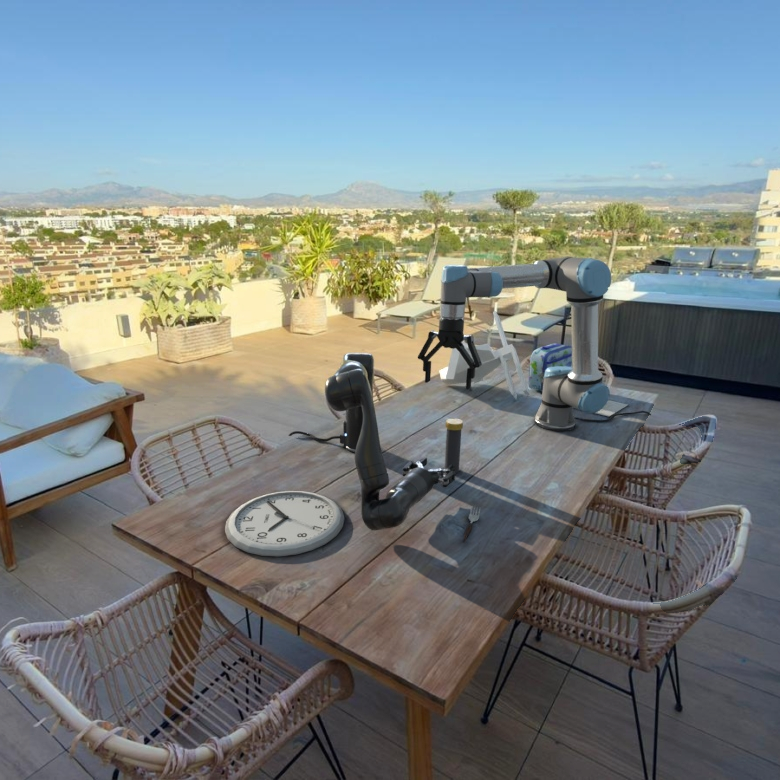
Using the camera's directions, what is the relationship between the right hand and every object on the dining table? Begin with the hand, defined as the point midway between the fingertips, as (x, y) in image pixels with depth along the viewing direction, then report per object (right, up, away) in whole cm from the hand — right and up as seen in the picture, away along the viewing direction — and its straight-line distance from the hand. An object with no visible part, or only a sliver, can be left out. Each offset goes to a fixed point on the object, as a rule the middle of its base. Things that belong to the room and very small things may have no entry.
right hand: (447, 384), depth 164 cm
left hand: (-4, -23, -11) cm, 26 cm away
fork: (+2, -37, -31) cm, 48 cm away
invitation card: (+73, -9, +62) cm, 96 cm away
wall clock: (-45, -36, -30) cm, 65 cm away
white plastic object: (+23, -3, +79) cm, 82 cm away
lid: (+2, -12, -5) cm, 13 cm away
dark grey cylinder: (+1, -27, 0) cm, 27 cm away
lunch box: (+58, -1, +87) cm, 105 cm away
